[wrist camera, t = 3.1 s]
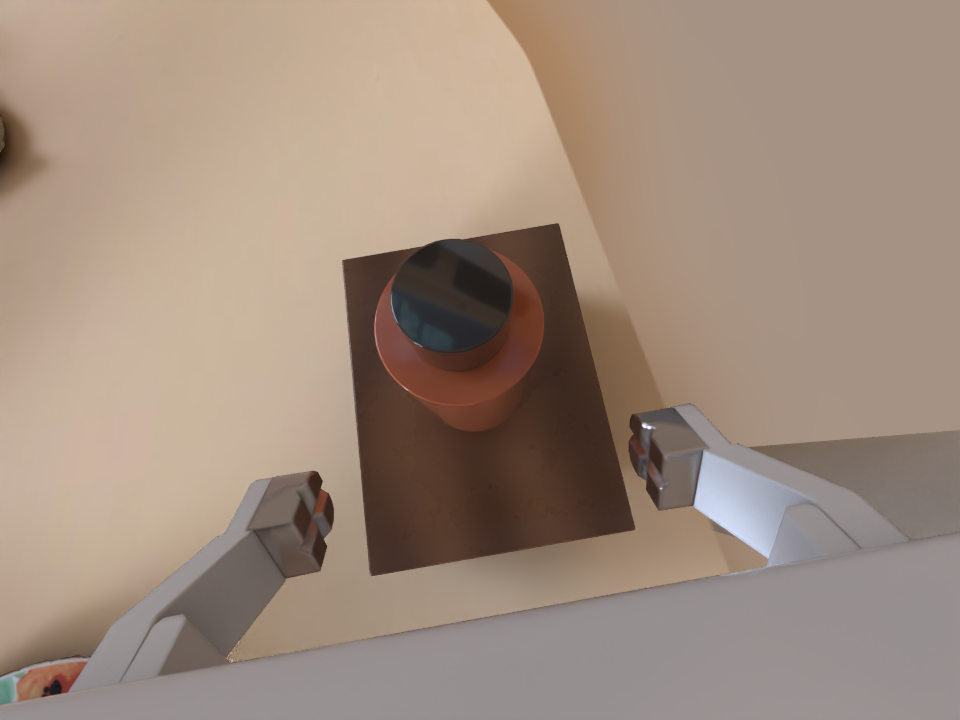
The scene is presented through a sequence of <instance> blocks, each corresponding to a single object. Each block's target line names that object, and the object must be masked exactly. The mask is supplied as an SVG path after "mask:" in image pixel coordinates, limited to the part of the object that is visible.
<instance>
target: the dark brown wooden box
mask: <svg viewBox="0 0 960 720" xmlns="http://www.w3.org/2000/svg"><path fill="white" fill-rule="evenodd" d="M463 240H468V241H472V242H475V243H478V244H480V245H482V246H484V247H486V248H488V249H489V250H492V251H495V252H497V253H499V254H501V255H503V256H505V257H507V258H508V259H510V260H511V261H512V262H514V263H515V264H516V265H517V266H518V267H520V268H521V269H522V270H523V271H524V272H525V274H526V275H527V276H528V277H529V278H530V280H531V281H532V283H533V285H534V286H535V288H536V290H537V292H538V295H539V297H540V300H541V303H542V307H543V313H544V334H543V340H542V344H541V347H540V350H539V353H538V356H537V359H536V361H535V364H534V367H533V369H532V372H531V375H530V377H529V380H528V383H527V386H526V388H525V391H524V394H523V396H522V399H521V401H520V404H519V405H518V407H517V409H516V410H515V412H514V413H513V414H512V415H511V416H510V417H509V418H508V419H507V420H506V421H505V422H503V423H502V424H500V425H498V426H497V427H495V428H492V429H489V430H486V431H480V432H467V431H462V430H458V429H455V428H453V427H451V426H449V425H447V424H446V423H444V422H443V421H442V420H440V419H439V418H438V417H437V416H436V415H435V414H433V413H432V412H431V411H430V410H429V409H428V408H426V407H425V406H424V405H423V404H422V403H421V402H419V401H418V400H417V399H416V398H415V397H414V396H412V395H411V394H410V393H409V392H408V391H407V390H405V389H404V388H403V387H402V386H401V385H400V384H398V383H397V382H396V380H395V379H394V378H393V377H392V376H391V375H390V373H389V372H388V371H387V369H386V368H385V366H384V364H383V362H382V360H381V358H380V356H379V353H378V350H377V347H376V341H375V335H374V322H375V314H376V310H377V305H378V303H379V300H380V297H381V295H382V293H383V291H384V289H385V287H386V286H387V284H388V283H389V281H390V280H391V279H392V277H393V276H394V275H395V274H396V273H397V271H398V269H399V268H400V266H401V265H402V264H403V262H404V261H405V260H406V259H407V258H408V257H409V256H410V255H411V254H413V253H414V252H415V251H417V250H418V249H420V248H421V247H417V248H411V249H405V250H399V251H393V252H387V253H382V254H376V255H370V256H364V257H358V258H352V259H347V260H343V261H342V265H343V276H344V288H345V299H346V310H347V322H348V333H349V344H350V356H351V367H352V378H353V389H354V401H355V412H356V423H357V435H358V446H359V457H360V469H361V480H362V491H363V502H364V514H365V525H366V536H367V548H368V559H369V570H370V576H376V575H382V574H388V573H393V572H399V571H405V570H410V569H416V568H422V567H427V566H433V565H439V564H444V563H450V562H456V561H461V560H467V559H473V558H478V557H484V556H490V555H495V554H501V553H507V552H513V551H518V550H524V549H530V548H535V547H541V546H547V545H552V544H558V543H564V542H569V541H575V540H581V539H586V538H592V537H598V536H603V535H609V534H615V533H620V532H626V531H632V530H634V529H635V525H634V521H633V517H632V513H631V509H630V505H629V501H628V497H627V493H626V489H625V485H624V481H623V477H622V473H621V469H620V465H619V461H618V457H617V454H616V450H615V446H614V442H613V438H612V434H611V430H610V426H609V422H608V418H607V414H606V410H605V406H604V402H603V398H602V394H601V390H600V386H599V382H598V378H597V374H596V370H595V366H594V362H593V358H592V354H591V350H590V346H589V342H588V338H587V334H586V330H585V326H584V322H583V318H582V314H581V310H580V306H579V302H578V298H577V294H576V290H575V286H574V282H573V278H572V274H571V270H570V266H569V262H568V258H567V254H566V250H565V246H564V242H563V238H562V234H561V230H560V226H559V224H558V223H556V224H551V225H545V226H539V227H533V228H527V229H521V230H516V231H510V232H504V233H498V234H492V235H486V236H481V237H475V238H469V239H463ZM422 247H423V246H422Z"/></svg>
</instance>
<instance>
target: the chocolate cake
mask: <svg viewBox="0 0 960 720" xmlns="http://www.w3.org/2000/svg"><path fill="white" fill-rule="evenodd" d="M90 658H91V656H89V657H87V658H84V657H83V656H80V655H76V656H72V657H65V658H62V659H60V660H52V661H44V662H38V663H36V664H34V665H30V666H27V667H25V668H23V669H21V670H16V671H12V672H10V673H7V674H4V675H2V676H0V705H1V704H7V703H13V702H18V701H24V700H29V699H35V698H40V697H46V696H51V695H57V694H62V693H68V691H69V690H70V688H71V687H72V685H73V684H74V682H75V681H76V679H77V678H78V676H79V675H80V673H81V672H82V670H83V669H84V667H85V666H86V664H87V663H88V661H89V660H90Z"/></svg>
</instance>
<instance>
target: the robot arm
mask: <svg viewBox="0 0 960 720" xmlns="http://www.w3.org/2000/svg"><path fill="white" fill-rule="evenodd" d="M630 429H631V430H632V432H633V433H634V434H633V436H632V437H631V438H630V439H629V454H630V459H631V462H632V465H633V467H634V469H635V471H636V473H637V475H638V476H639V477H641V478H643V479H644V480H646V481H647V485H646V490H647V492H648V494H649V495H650V497H651V499H652V500H653V502H654V504H655V505H656V507H657V509H658V510H659V511H661V510H667V509H674V508H680V507H687V506H694V508H695V509H697V510H698V511H700V512H701V513H703V514H704V515H705V516H707V517H708V518H710V519H711V520H713V521H714V522H716V523H717V524H719V525H720V526H721V527H723V528H724V529H726V530H727V531H729V532H730V533H732V534H733V535H735V536H736V537H737V538H739V539H741V540H742V541H744V542H745V543H746V544H748V545H749V546H751V547H752V548H754V549H755V550H756V551H758V552H759V553H761V554H762V555H764V556H765V557H767V558H768V562H767V565H766V567H761V568H756V569H750V570H744V571H738V572H733V573H727V574H722V575H716V576H711V577H705V578H700V579H694V580H688V581H683V582H677V583H672V584H666V585H661V586H655V587H650V588H644V589H639V590H633V591H628V592H622V593H617V594H611V595H606V596H600V597H595V598H589V599H584V600H578V601H573V602H567V603H562V604H556V605H551V606H545V607H540V608H534V609H529V610H523V611H518V612H512V613H507V614H501V615H496V616H490V617H484V618H479V619H473V620H468V621H462V622H456V623H451V624H445V625H440V626H434V627H429V628H423V629H417V630H412V631H406V632H401V633H395V634H390V635H384V636H379V637H373V638H367V639H362V640H356V641H351V642H345V643H340V644H334V645H329V646H323V647H318V648H312V649H306V650H301V651H295V652H290V653H284V654H279V655H273V656H268V657H262V658H257V659H251V660H245V661H240V662H234V663H230V662H229V661H228V660H227V659H226V657H227V656H228V654H229V653H230V652H231V650H232V649H233V648H234V647H235V645H236V644H237V643H238V641H239V640H240V639H241V638H242V636H243V635H244V634H245V632H246V631H247V630H248V629H249V627H250V626H251V625H252V623H253V622H254V621H255V620H256V618H257V617H258V616H259V614H260V613H261V612H262V611H263V609H264V608H265V607H266V605H267V604H268V603H269V601H270V600H271V599H272V598H273V596H274V595H275V594H276V592H277V591H278V590H279V589H280V587H281V586H282V585H283V583H284V582H285V581H286V580H285V579H286V578H290V577H295V576H300V575H305V574H310V573H314V572H319V571H321V567H322V563H323V560H324V556H325V552H326V549H327V545H326V543H325V541H324V540H323V539H324V538H325V537H326V536H327V535H328V534H329V532H330V531H331V529H332V525H333V521H334V508H333V503H332V500H331V498H330V495H329V493H327V492H325V491H323V490H322V489H320V488H321V485H322V482H323V481H322V479H321V477H320V475H319V473H318V472H316V471H309V472H303V473H296V474H290V475H283V476H276V477H273V478H266V479H259V480H256V481H254V482H253V483H251V485H250V486H249V488H248V490H247V492H246V494H245V496H244V498H243V500H242V501H241V503H240V505H239V507H238V509H237V511H236V513H235V515H234V516H233V518H232V520H231V522H230V524H229V526H228V528H227V530H226V532H225V533H224V535H221V536H217V537H216V538H215V539H213V540H212V541H211V542H210V543H209V544H207V545H206V546H205V547H204V548H203V549H202V550H200V551H199V552H198V553H197V554H196V555H194V556H193V557H192V558H191V559H190V560H189V561H187V562H186V563H185V564H184V565H183V566H181V567H180V568H179V569H178V570H177V571H175V572H174V573H173V574H172V575H171V576H170V577H168V578H167V579H166V580H165V581H164V582H162V583H161V584H160V585H159V586H158V587H157V588H155V589H154V590H153V591H152V592H151V593H149V594H148V595H147V596H146V597H145V598H144V599H142V600H141V601H140V602H139V603H138V604H136V605H135V606H134V607H133V608H132V609H130V610H129V611H128V612H127V613H126V614H125V615H123V616H122V617H121V618H120V619H119V620H117V621H116V622H115V623H114V624H113V625H112V626H111V628H110V629H109V631H108V632H107V634H106V635H105V637H104V638H103V640H102V641H101V643H100V644H99V646H98V647H97V649H96V650H95V652H94V653H93V655H92V656H91V658H90V660H89V661H88V663H87V664H86V666H85V667H84V669H83V670H82V672H81V673H80V675H79V676H78V678H77V679H76V681H75V682H74V684H73V685H72V687H71V688H70V690H69V691H68V693H62V694H57V695H51V696H46V697H40V698H35V699H29V700H24V701H18V702H13V703H7V704H1V705H0V720H960V532H955V533H949V534H944V535H938V536H933V537H927V538H922V539H916V540H911V539H910V538H909V537H908V536H907V535H905V534H904V533H903V532H902V531H901V530H900V529H898V528H897V527H896V526H895V525H894V524H893V523H892V522H890V521H889V520H888V519H887V518H886V517H885V516H883V515H882V514H881V513H880V512H879V511H878V510H876V509H875V508H874V507H873V506H872V505H871V504H870V503H868V502H867V501H866V500H865V499H864V498H863V497H861V496H860V495H859V494H858V493H857V492H855V491H852V490H850V489H847V488H845V487H842V486H840V485H838V484H835V483H833V482H830V481H828V480H825V479H823V478H821V477H818V476H816V475H813V474H811V473H808V472H806V471H804V470H801V469H799V468H796V467H794V466H791V465H789V464H787V463H784V462H782V461H779V460H777V459H774V458H772V457H770V456H767V455H765V454H762V453H760V452H757V451H755V450H752V449H750V448H748V447H745V446H743V445H740V444H733V445H732V444H731V443H730V442H729V441H728V440H727V439H726V438H725V437H724V436H723V435H722V433H721V432H720V431H719V430H718V429H717V428H716V427H715V426H714V425H713V424H712V423H711V422H710V421H709V420H708V419H707V418H706V417H705V416H704V415H703V414H702V413H701V412H700V411H699V410H698V408H697V407H696V406H695V405H693V404H690V403H689V404H684V405H679V406H674V407H670V408H665V409H660V410H654V411H649V412H643V413H638V414H632V416H631V418H630Z"/></svg>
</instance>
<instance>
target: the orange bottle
mask: <svg viewBox="0 0 960 720" xmlns="http://www.w3.org/2000/svg"><path fill="white" fill-rule="evenodd" d="M543 334H544V313H543V307H542V303H541V300H540V297H539V295H538V292H537V290H536V288H535V286H534V285H533V283H532V281H531V280H530V278H529V277H528V276H527V275H526V274H525V272H524V271H523V270H522V269H521V268H520V267H518V266H517V265H516V264H515V263H514V262H512V261H511V260H510V259H508V258H507V257H505V256H503V255H501V254H499V253H497V252H495V251H492V250H489V249H488V248H486V247H484V246H482V245H480V244H478V243H475V242H472V241H468V240H462V239H445V240H440V241H435V242H433V243H430V244H427V245H425V246H423V247H421V248H420V249H418V250H417V251H415V252H414V253H413V254H411V255H410V256H409V257H408V258H407V259H406V260H405V261H404V262H403V264H402V265H401V266H400V268H399V269H398V271H397V273H396V274H395V275H394V276H393V277H392V279H391V280H390V281H389V283H388V284H387V286H386V287H385V289H384V291H383V293H382V295H381V297H380V300H379V303H378V305H377V310H376V314H375V322H374V335H375V341H376V347H377V350H378V353H379V356H380V358H381V360H382V362H383V364H384V366H385V368H386V369H387V371H388V372H389V373H390V375H391V376H392V377H393V378H394V379H395V380H396V382H397V383H398V384H400V385H401V386H402V387H403V388H404V389H405V390H407V391H408V392H409V393H410V394H411V395H412V396H414V397H415V398H416V399H417V400H418V401H419V402H421V403H422V404H423V405H424V406H425V407H426V408H428V409H429V410H430V411H431V412H432V413H433V414H435V415H436V416H437V417H438V418H439V419H440V420H442V421H443V422H444V423H446V424H447V425H449V426H451V427H453V428H455V429H458V430H462V431H467V432H480V431H486V430H489V429H492V428H495V427H497V426H498V425H500V424H502V423H503V422H505V421H506V420H507V419H508V418H509V417H510V416H511V415H512V414H513V413H514V412H515V410H516V409H517V407H518V405H519V404H520V401H521V399H522V396H523V394H524V391H525V388H526V386H527V383H528V380H529V377H530V375H531V372H532V369H533V367H534V364H535V361H536V359H537V356H538V353H539V350H540V347H541V344H542V340H543Z"/></svg>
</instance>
